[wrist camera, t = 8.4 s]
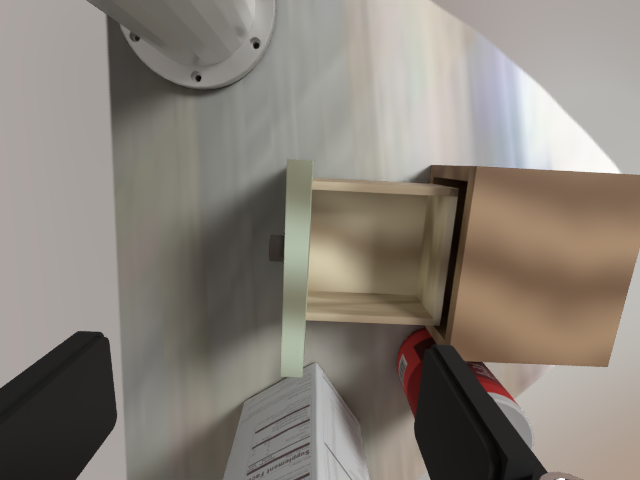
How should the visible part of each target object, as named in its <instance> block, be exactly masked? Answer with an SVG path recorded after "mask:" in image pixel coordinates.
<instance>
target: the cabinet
mask: <svg viewBox="0 0 640 480" xmlns="http://www.w3.org/2000/svg"><path fill="white" fill-rule="evenodd" d="M429 184H437V185H442V186H448V187H453V188H459V193H458V200H457V207H456V214H455V221H454V228H453V235H452V242H451V249H450V256H449V263H448V270H447V278H446V285H445V292H444V299H443V306H442V313H441V320H440V326H430V325H425V327H426V328H427V330H428V331H429V333H430V334H431V336H432V337H433V339H434V340H435V342H436V343H437V345H452V346H453V347H454V348H455V349H456V351H457V352H458V353H459V355H460V356H461V357H462V359H463V360H464V361H473V362H498V363H522V364H547V365H572V366H596V367H608V363H609V359H610V356H611V352H612V348H613V345H614V341H615V337H616V334H617V330H618V326H619V322H620V319H621V315H622V311H623V307H624V304H625V300H626V296H627V293H628V289H629V285H630V282H631V278H632V274H633V270H634V266H635V263H636V259H637V255H638V252H639V248H640V175H628V174H611V173H593V172H574V171H555V170H536V169H517V168H499V167H480V166H446V165H431V172H430V180H429Z"/></svg>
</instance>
